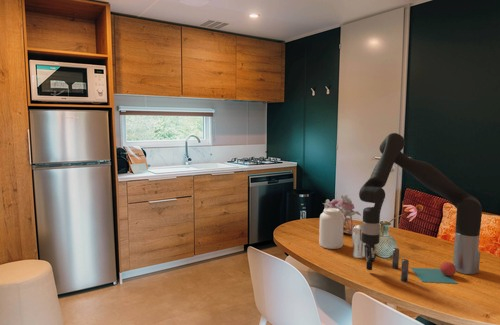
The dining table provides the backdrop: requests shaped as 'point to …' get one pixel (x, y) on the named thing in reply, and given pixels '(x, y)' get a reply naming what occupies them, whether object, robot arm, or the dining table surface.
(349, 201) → the flower
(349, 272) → the dining table surface
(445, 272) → the ball
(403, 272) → the post
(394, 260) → the post
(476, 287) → the dining table surface
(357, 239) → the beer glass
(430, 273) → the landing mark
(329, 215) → the white jar
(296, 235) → the dining table surface
